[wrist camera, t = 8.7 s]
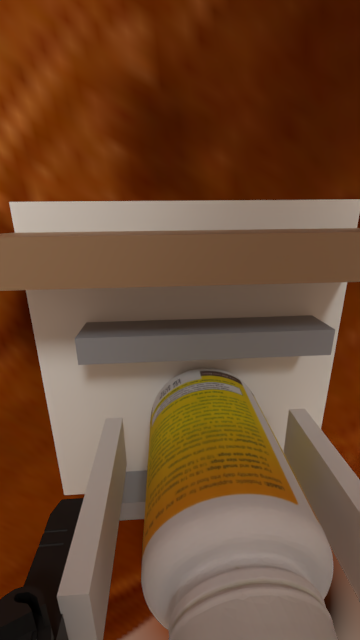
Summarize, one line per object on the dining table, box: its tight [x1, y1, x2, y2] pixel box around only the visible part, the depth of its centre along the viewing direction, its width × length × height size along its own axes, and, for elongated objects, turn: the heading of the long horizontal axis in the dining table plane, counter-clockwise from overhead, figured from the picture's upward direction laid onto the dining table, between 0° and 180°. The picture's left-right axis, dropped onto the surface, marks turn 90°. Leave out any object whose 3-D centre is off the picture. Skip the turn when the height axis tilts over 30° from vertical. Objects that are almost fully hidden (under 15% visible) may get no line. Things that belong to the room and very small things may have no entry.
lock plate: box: [0, 199, 360, 521], centre depth 13 cm, size 16×15×5 cm
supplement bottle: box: [141, 368, 338, 640], centre depth 11 cm, size 6×6×10 cm
